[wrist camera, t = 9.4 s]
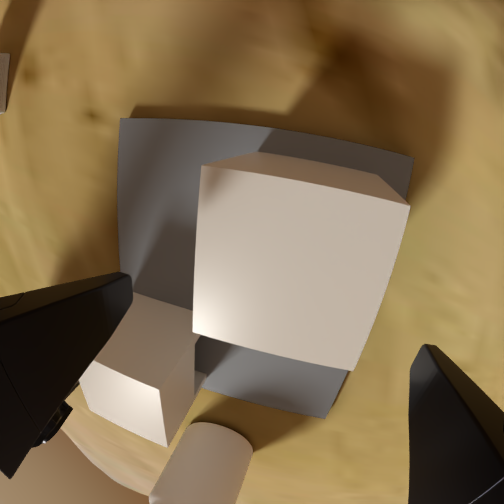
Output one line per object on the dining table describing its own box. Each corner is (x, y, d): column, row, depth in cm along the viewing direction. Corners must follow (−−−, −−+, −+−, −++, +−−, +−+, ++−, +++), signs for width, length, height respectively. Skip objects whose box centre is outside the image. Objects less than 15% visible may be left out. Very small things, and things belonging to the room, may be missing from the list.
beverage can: (188, 408, 29) (138, 496, 19) (260, 432, 28) (226, 529, 17) (187, 442, 33) (147, 515, 22) (248, 463, 31) (218, 542, 21)
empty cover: (206, 378, 25) (167, 447, 18) (137, 353, 26) (90, 410, 19) (209, 315, 22) (159, 389, 15) (131, 291, 24) (67, 346, 16)
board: (326, 410, 25) (325, 418, 24) (136, 355, 28) (131, 361, 27) (410, 156, 16) (414, 158, 15) (128, 118, 19) (120, 118, 18)
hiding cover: (350, 284, 19) (353, 371, 12) (243, 260, 20) (192, 332, 13) (377, 174, 16) (410, 205, 9) (257, 151, 17) (201, 165, 10)
